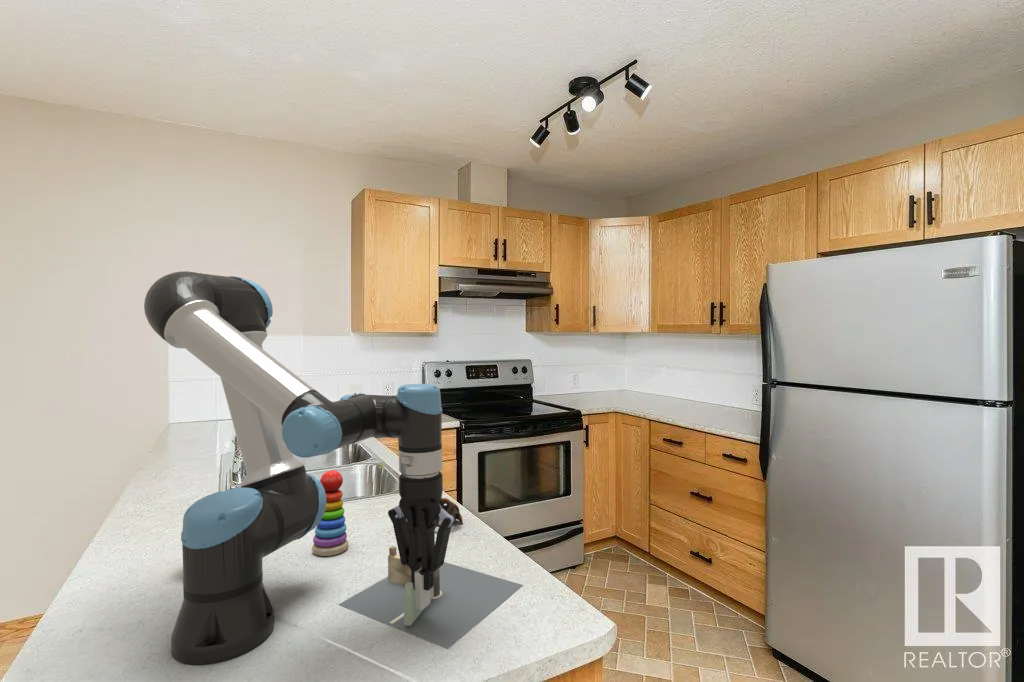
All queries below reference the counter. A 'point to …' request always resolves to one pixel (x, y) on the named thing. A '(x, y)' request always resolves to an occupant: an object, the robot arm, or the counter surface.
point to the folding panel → (412, 604)
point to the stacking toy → (331, 518)
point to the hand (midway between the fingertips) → (422, 605)
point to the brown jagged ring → (450, 510)
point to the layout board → (437, 604)
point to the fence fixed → (406, 571)
